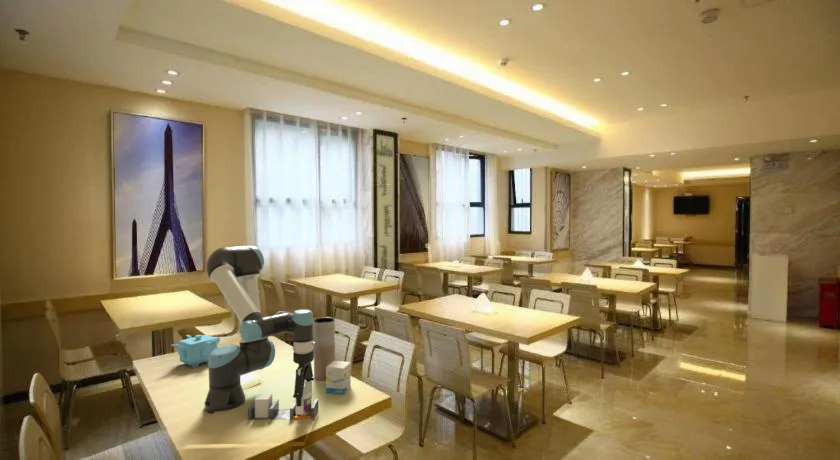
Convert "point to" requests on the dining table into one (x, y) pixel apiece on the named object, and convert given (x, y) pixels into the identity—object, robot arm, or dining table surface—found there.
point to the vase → (323, 346)
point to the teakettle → (196, 349)
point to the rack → (284, 412)
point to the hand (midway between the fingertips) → (304, 405)
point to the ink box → (338, 377)
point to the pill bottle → (306, 401)
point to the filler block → (263, 405)
